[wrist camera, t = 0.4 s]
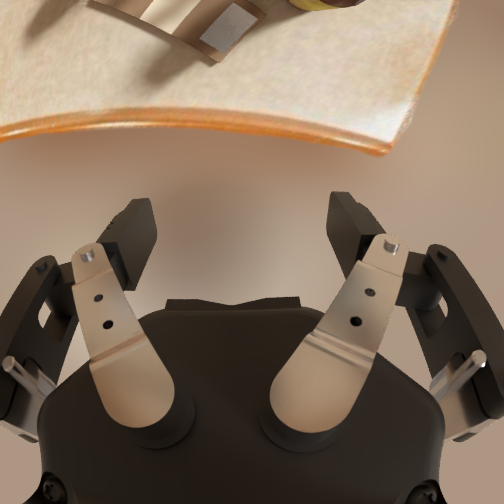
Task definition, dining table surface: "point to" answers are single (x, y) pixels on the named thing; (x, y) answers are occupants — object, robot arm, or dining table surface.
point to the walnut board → (185, 18)
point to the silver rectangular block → (228, 28)
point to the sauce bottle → (323, 4)
